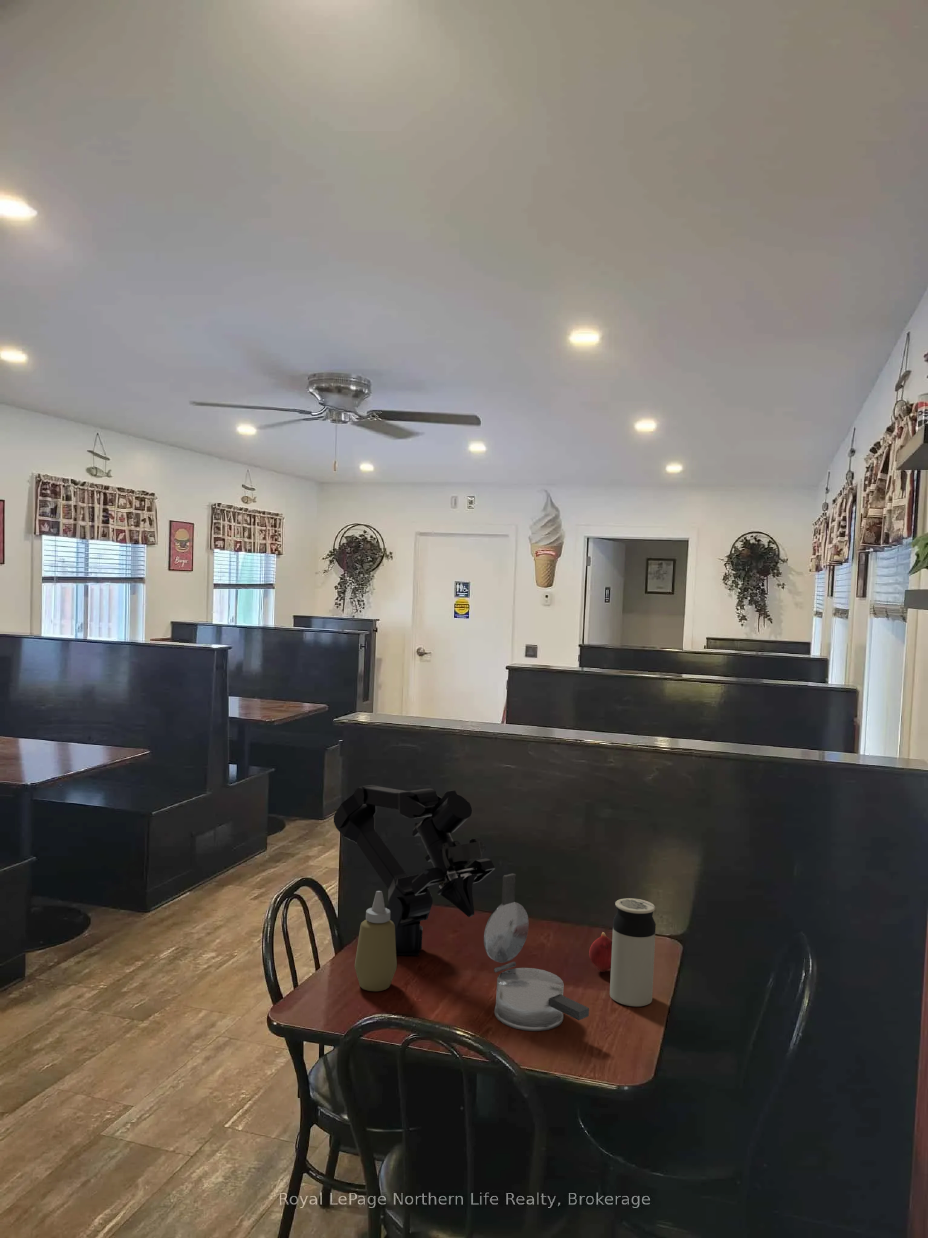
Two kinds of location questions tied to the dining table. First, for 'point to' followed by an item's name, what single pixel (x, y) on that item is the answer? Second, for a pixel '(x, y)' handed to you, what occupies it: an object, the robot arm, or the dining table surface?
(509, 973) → the pot
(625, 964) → the travel mug
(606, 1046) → the dining table surface
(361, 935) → the squeeze bottle
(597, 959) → the onion
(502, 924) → the lid
